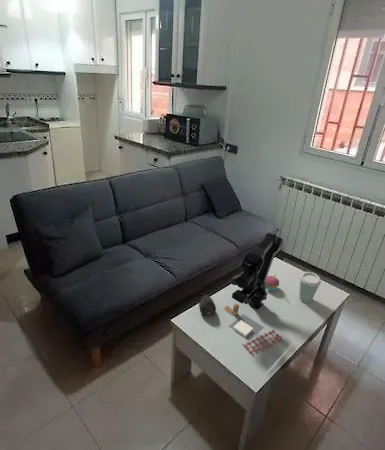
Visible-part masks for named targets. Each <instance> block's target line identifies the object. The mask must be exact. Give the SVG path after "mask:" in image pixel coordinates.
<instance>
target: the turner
mask: <svg viewBox="0 0 385 450" xmlns="http://www.w3.org/2000/svg"><path fill="white" fill-rule="evenodd" d="M239 307H240V305H239V304H238V303H233V307H231V306H229V305H226V306H225V307H224V308H222V310H223V311H225V312H226V313H228V314H229V315H231V316H235V317H236V316H238V314H239Z"/></svg>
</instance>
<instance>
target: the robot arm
mask: <svg viewBox="0 0 385 450" xmlns="http://www.w3.org/2000/svg"><path fill="white" fill-rule="evenodd" d="M284 242H285V240H284V239H283V238H282V237H279V236H278V235H276V234H274V233H270V232H266V234H265V236H264V238H263V239H262V240H261V241H260V243H258V245H257V247H255V248H251V249H250V250H249V251H248V252H246V253H245V256H244V257H243V260H242V262H241V265H240V268H241V269H243V271H242V272H241V273H239V274H236V275H234V276H233V277H232V278H231V280H230V282H231V284H232V285H233V286H237V287H238V288H240V289H241V290H240V289H236V290H235V291H234V292H232V293H231V298H232V299H233V300H235V301H237V302H239V304H245V305H249V306H250V307H251V308H252V309H255V310H257V311H258V310H259V309H261V308H262V307H263V306H264V305H265V303H263V301H265V300H267V298H268V292H267V287H266V282H265V281H266V278H267V276H269V275H268V274H269V272H270V270H271V267H272V263H273V261H274V258H275V256H276V254H277V253H278V252H279V251H281V249H282V248H283V246H284V244H285V243H284Z"/></svg>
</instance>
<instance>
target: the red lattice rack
mask: <svg viewBox="0 0 385 450" xmlns="http://www.w3.org/2000/svg"><path fill="white" fill-rule="evenodd" d="M274 334H275V335H274ZM270 335H271V336H272V337H271V336H270ZM265 337H266V338H268V339H266V338H265ZM261 339H262V340H263V341H261ZM256 341H258V342H256ZM269 341H271V343H270V342H269ZM281 342H284V339H283V337H282V336H281V335H280V334H279V333H277V332H276V330H275V329H271V331H268V333H266V332H265V333H264V334H262V335H259V337H258V336H257V337H255V339H253V338H252V339H251V340H250V341H246V343H245V344H244V343H242V344H241V345H242V347H244V348H245V350H247V351H246V352H248V353H249V354H250V355H251V356H252V357H254V356H255V353H256V354H257V355H259V352H258V351H261V352H264V349H265V350H268V349H269V348H268V347H270V348H272V347H273V344H274V345H275V346H277V343H279V344H280V343H281ZM264 343H266V344H267V345H265V344H264ZM252 344H254V345H252ZM248 345H249V347H248ZM261 345H262V346H261ZM260 346H261V347H260Z"/></svg>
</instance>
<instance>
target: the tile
mask: <svg viewBox="0 0 385 450" xmlns="http://www.w3.org/2000/svg"><path fill="white" fill-rule="evenodd" d="M233 329H234V331H235V330H236V331H237V332H236V331H235V332H236V333H238V332H239V333H240V334H242V335H243V336H244V337H243V336H242V335H241V336H242V337H243V338H245V337H246V336H247V335H248V334H249V333H251V332H252V331H253V328H252V327H251V326H249V325H248V324H246V323H245V322H243V321H242V320H241V321H239V322H238V323H237V324H236V325H235V326H234V327H233ZM233 329H232V330H233ZM239 333H238V334H239ZM240 334H239V335H240Z"/></svg>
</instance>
